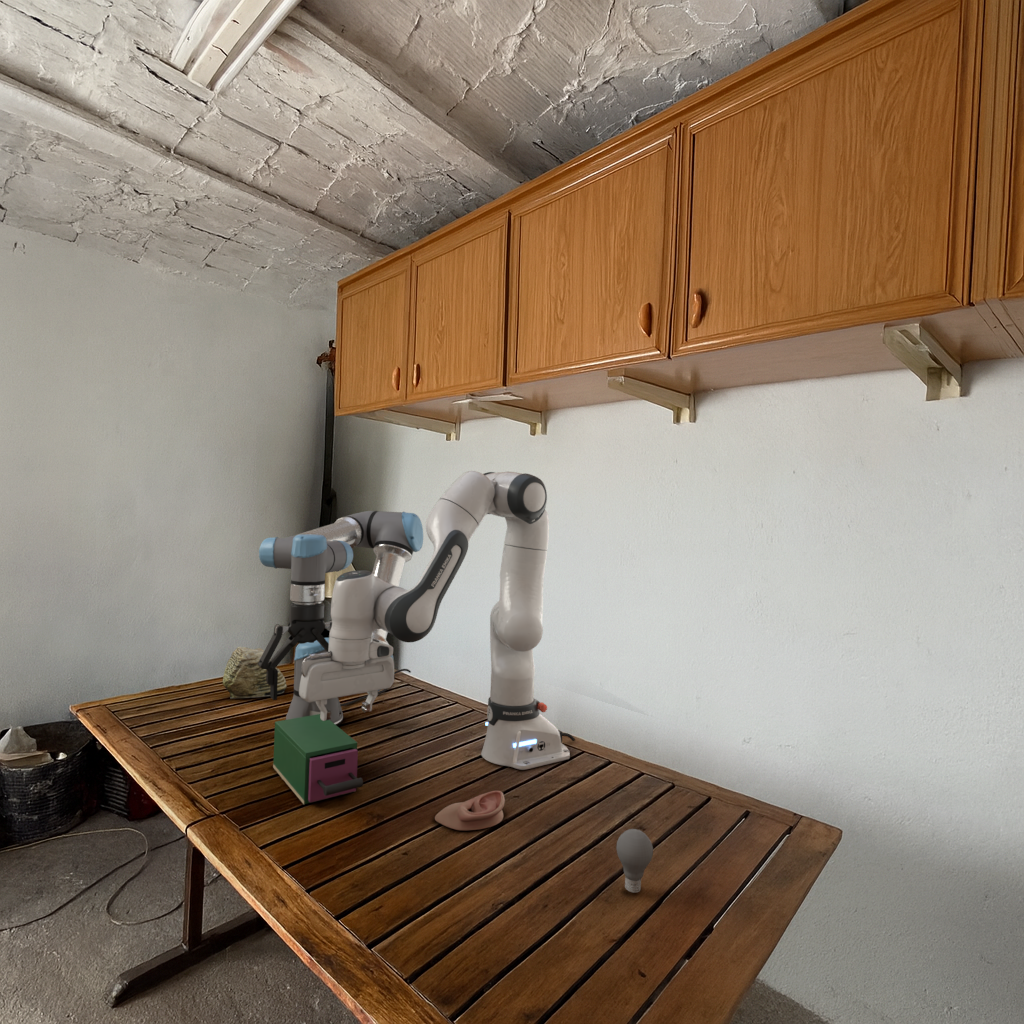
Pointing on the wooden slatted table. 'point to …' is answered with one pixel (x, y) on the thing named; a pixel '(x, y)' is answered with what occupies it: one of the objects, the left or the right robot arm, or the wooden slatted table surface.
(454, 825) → the anatomical model
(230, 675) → the fossil
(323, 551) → the left robot arm
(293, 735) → the cabinet
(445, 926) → the wooden slatted table surface
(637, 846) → the light bulb
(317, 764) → the drawer
